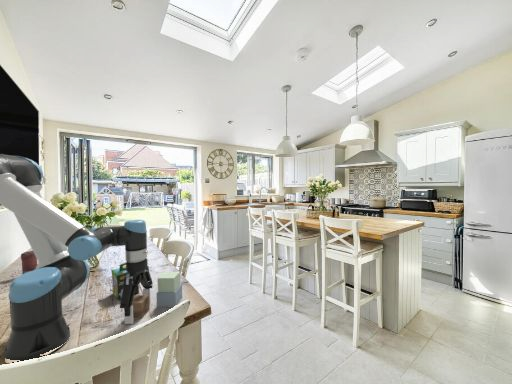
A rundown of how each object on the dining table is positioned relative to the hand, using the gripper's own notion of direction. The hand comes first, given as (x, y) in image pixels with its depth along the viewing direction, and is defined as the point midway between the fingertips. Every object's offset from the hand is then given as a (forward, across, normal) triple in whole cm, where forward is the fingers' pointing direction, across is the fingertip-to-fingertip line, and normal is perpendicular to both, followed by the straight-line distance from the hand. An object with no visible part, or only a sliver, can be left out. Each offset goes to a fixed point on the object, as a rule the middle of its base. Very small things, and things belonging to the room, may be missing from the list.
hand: (138, 313), depth 90 cm
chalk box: (0, +17, +15) cm, 23 cm away
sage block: (-6, +9, -9) cm, 14 cm away
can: (0, +38, +82) cm, 90 cm away
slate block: (0, +9, -9) cm, 13 cm away
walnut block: (0, 0, 0) cm, 0 cm away
